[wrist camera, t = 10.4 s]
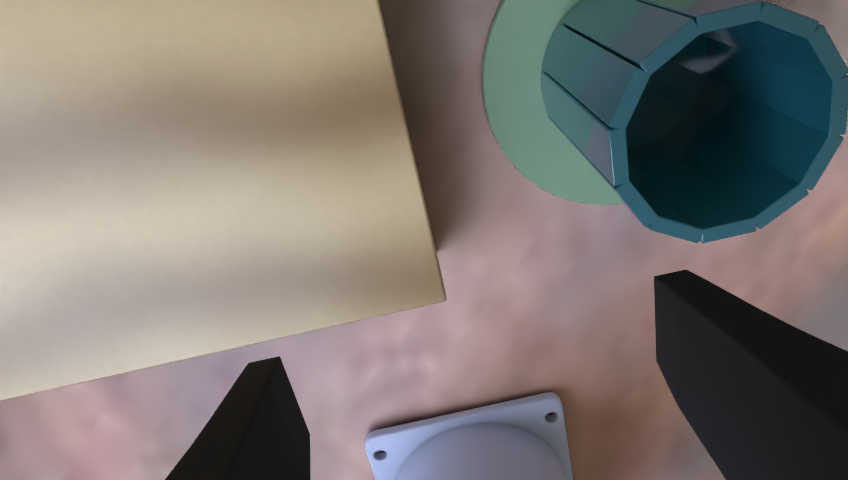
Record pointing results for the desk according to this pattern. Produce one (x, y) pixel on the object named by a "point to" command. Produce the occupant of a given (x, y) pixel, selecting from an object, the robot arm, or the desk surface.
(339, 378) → the desk surface
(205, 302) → the shelf
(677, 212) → the cup
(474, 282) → the desk surface
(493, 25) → the coaster
